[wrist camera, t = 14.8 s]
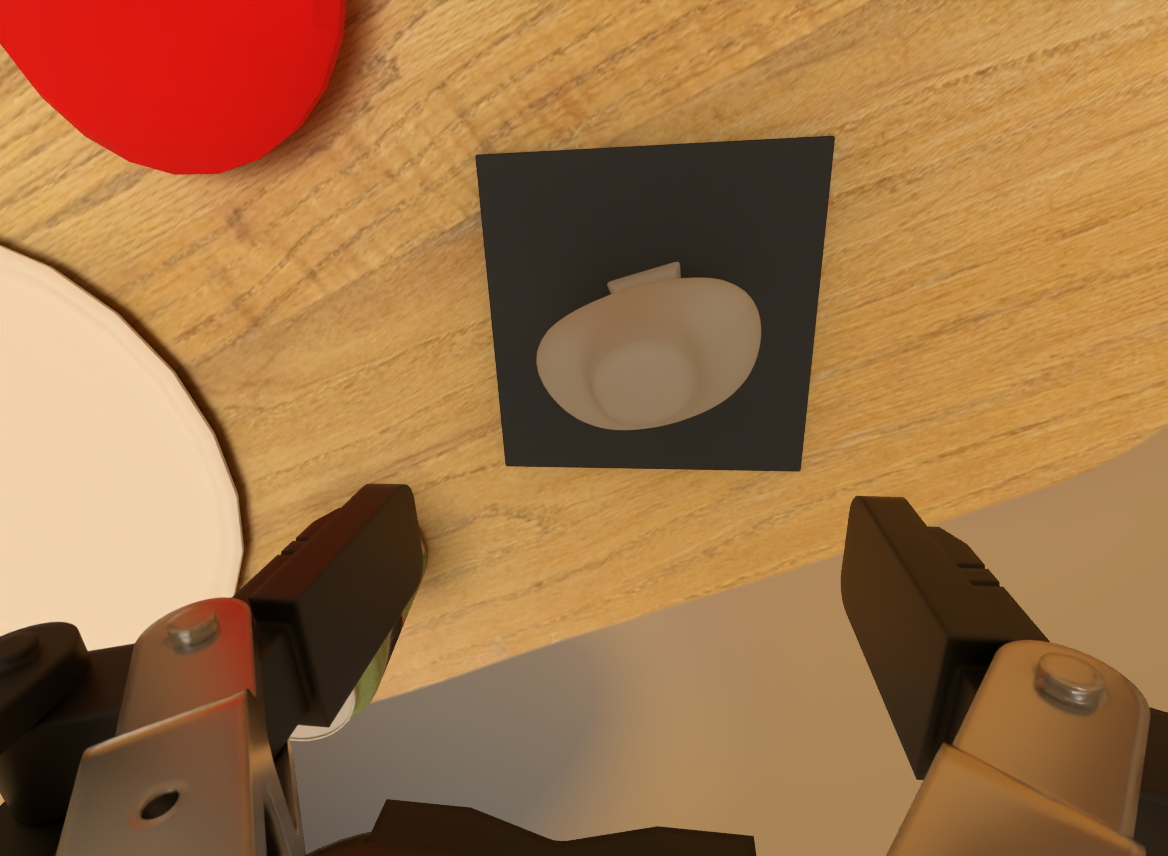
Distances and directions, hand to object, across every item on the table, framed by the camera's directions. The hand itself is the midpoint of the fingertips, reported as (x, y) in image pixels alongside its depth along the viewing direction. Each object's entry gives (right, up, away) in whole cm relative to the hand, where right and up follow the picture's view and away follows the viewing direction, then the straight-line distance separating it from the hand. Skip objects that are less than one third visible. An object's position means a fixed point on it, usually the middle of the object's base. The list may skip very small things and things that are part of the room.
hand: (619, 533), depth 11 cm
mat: (+2, +7, +17) cm, 19 cm away
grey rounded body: (+3, +7, +17) cm, 18 cm away
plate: (-35, -1, +26) cm, 43 cm away
